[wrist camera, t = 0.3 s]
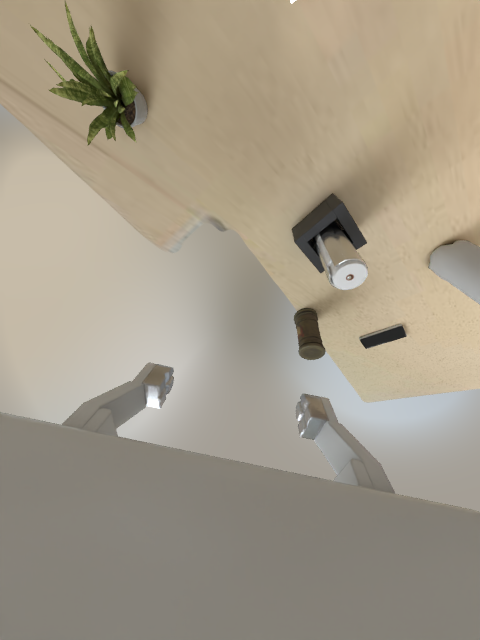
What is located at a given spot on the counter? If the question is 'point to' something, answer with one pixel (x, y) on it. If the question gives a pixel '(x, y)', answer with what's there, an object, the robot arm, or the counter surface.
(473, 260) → the bottle
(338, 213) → the box
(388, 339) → the smartphone
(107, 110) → the house plant
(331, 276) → the silver tall cylinder
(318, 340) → the container
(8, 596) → the robot arm
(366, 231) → the counter surface
